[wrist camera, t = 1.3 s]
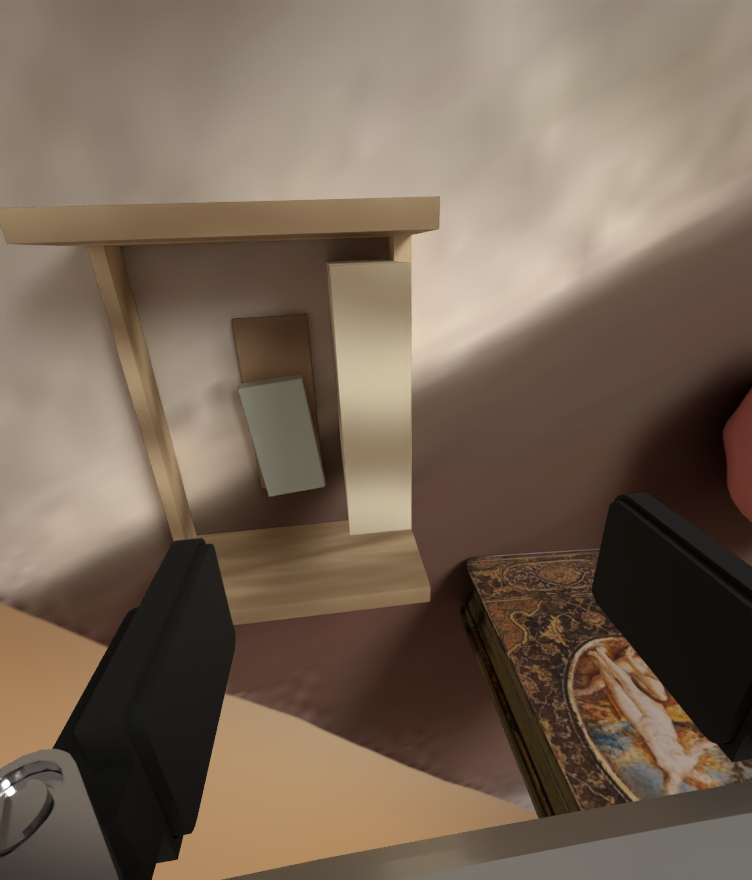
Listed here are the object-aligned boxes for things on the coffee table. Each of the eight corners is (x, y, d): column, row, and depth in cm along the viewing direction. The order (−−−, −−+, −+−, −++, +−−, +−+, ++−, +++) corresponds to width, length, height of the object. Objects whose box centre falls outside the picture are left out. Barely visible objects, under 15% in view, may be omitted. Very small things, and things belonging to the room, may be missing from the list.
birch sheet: (326, 261, 25) (329, 266, 15) (375, 259, 25) (410, 262, 15) (340, 441, 30) (350, 535, 20) (381, 438, 30) (411, 528, 20)
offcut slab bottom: (235, 316, 26) (231, 319, 25) (306, 312, 27) (305, 315, 26) (263, 480, 31) (261, 489, 30) (323, 475, 32) (323, 482, 31)
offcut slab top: (241, 383, 27) (237, 389, 26) (302, 373, 27) (301, 378, 26) (270, 487, 30) (268, 496, 29) (324, 478, 30) (325, 486, 29)
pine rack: (98, 223, 23) (-6, 208, 16) (404, 213, 24) (439, 196, 17) (189, 549, 32) (150, 635, 25) (406, 526, 34) (430, 601, 26)
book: (636, 545, 38) (1114, 986, 15) (620, 591, 40) (1015, 1035, 17) (461, 557, 36) (705, 1082, 13) (455, 604, 38) (654, 1125, 15)
